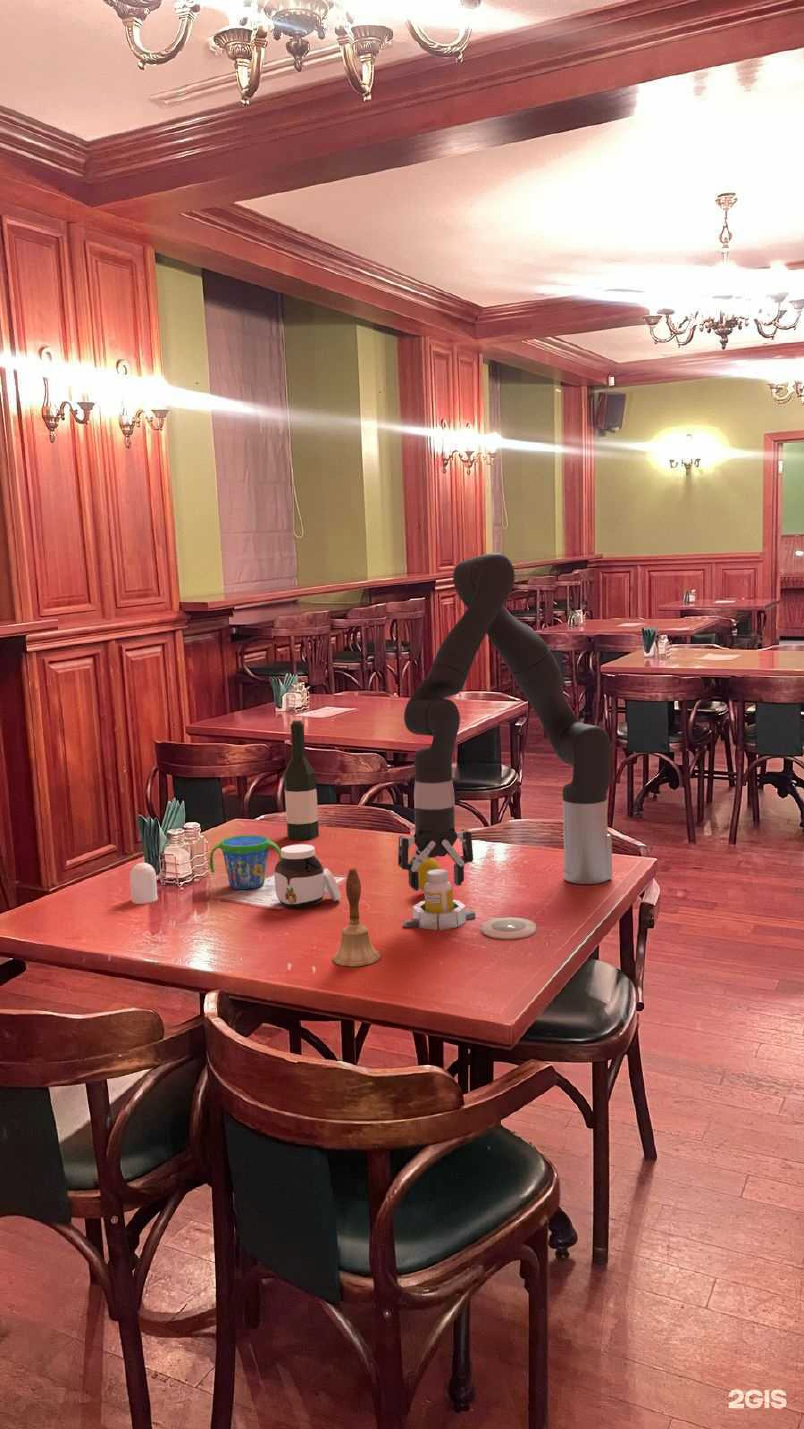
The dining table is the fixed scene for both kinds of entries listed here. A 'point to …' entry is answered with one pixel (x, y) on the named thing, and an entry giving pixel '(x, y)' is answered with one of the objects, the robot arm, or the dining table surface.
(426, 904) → the supplement bottle
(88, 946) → the dining table surface
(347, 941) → the hand bell
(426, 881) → the lemon
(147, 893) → the white domed cylinder
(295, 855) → the spread jar
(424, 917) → the collar
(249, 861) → the snack cup
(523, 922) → the plate
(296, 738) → the wine bottle
